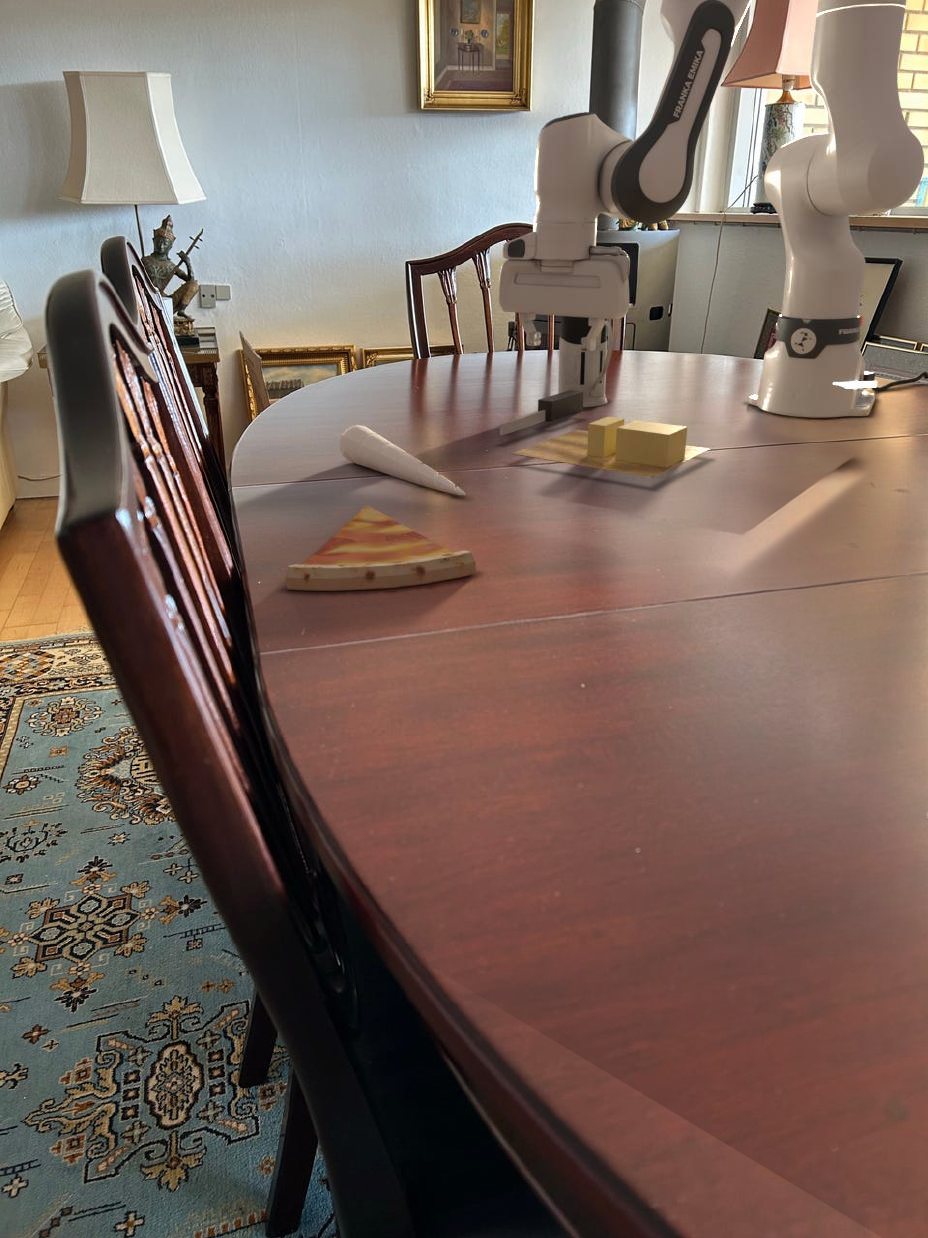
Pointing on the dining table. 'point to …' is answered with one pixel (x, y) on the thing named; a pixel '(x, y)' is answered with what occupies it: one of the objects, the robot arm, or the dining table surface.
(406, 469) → the unicorn horn
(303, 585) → the pizza slice
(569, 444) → the board
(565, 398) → the knife
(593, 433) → the block
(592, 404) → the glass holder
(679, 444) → the butter
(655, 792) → the dining table surface
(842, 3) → the robot arm
